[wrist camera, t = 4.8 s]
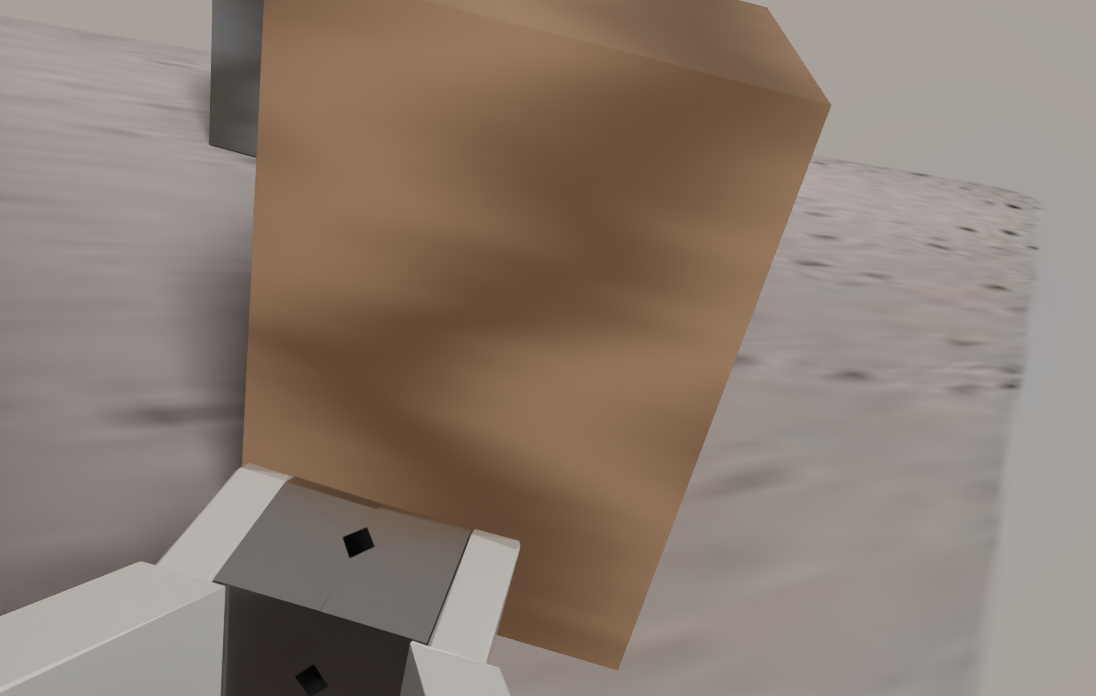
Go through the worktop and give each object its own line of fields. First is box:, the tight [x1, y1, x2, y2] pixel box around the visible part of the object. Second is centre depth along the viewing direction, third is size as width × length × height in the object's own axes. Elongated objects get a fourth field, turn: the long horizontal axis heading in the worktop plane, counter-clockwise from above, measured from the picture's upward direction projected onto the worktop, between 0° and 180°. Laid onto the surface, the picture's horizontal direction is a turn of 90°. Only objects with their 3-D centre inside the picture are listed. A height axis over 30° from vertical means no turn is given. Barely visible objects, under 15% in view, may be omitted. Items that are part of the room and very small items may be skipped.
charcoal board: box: [210, 0, 264, 157], centre depth 32 cm, size 18×4×7 cm, turn 80°
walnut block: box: [242, 0, 831, 670], centre depth 18 cm, size 7×12×10 cm, turn 170°
